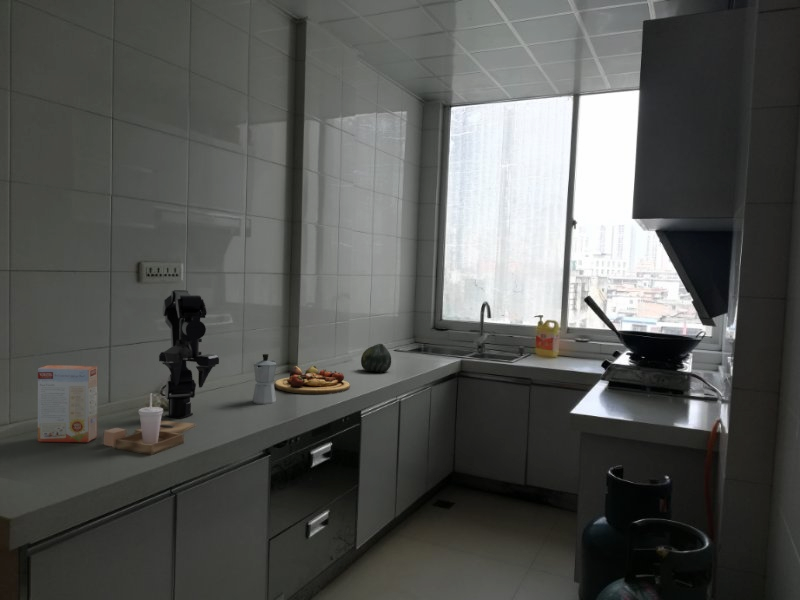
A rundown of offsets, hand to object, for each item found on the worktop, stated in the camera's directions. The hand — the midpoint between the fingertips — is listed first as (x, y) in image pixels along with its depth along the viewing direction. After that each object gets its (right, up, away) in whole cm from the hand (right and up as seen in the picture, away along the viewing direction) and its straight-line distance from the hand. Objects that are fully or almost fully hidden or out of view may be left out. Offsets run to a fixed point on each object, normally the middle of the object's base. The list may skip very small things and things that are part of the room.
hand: (188, 385), depth 188 cm
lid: (-6, -13, -2) cm, 14 cm away
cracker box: (-28, -13, -16) cm, 35 cm away
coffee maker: (+15, -12, +41) cm, 45 cm away
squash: (+54, -9, +115) cm, 127 cm away
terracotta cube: (-14, -10, -19) cm, 25 cm away
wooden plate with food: (+28, -11, +71) cm, 77 cm away
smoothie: (-4, -14, -19) cm, 24 cm away
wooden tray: (-4, -14, -19) cm, 24 cm away
